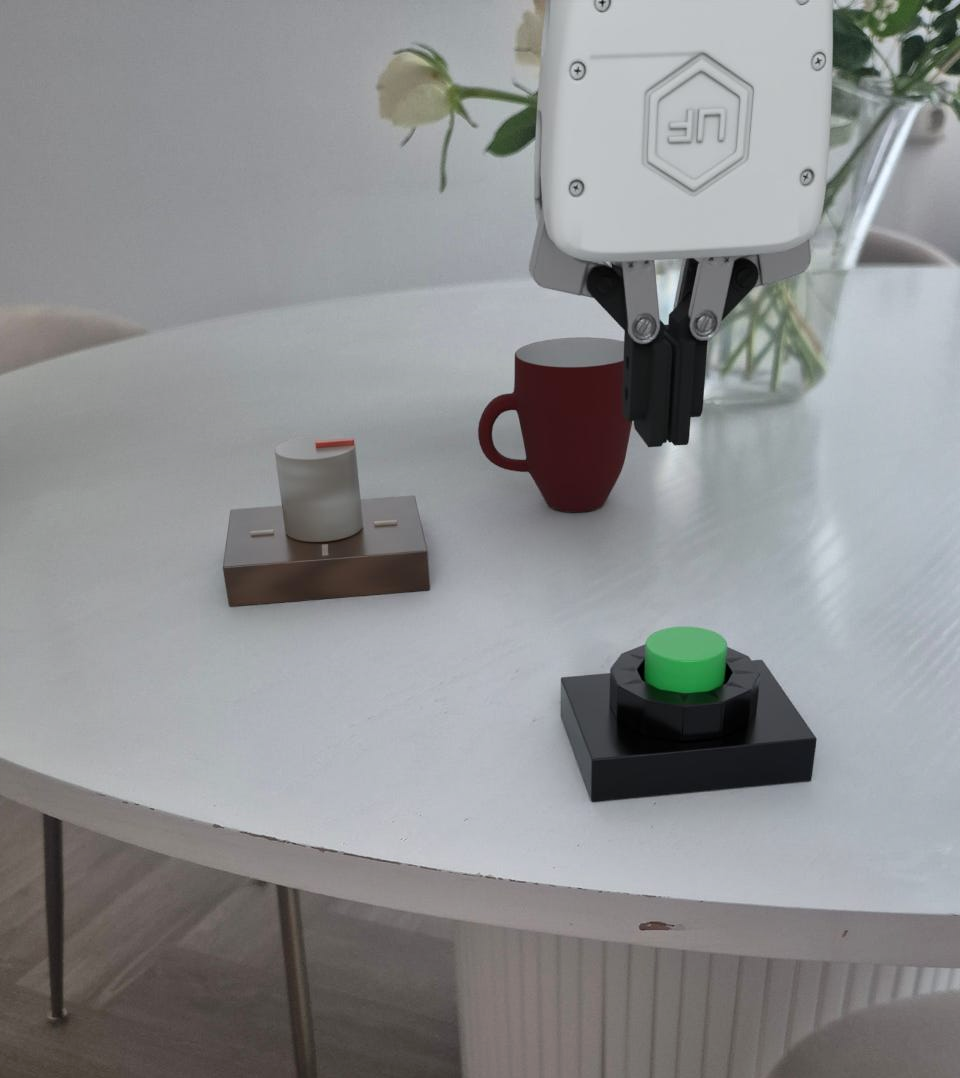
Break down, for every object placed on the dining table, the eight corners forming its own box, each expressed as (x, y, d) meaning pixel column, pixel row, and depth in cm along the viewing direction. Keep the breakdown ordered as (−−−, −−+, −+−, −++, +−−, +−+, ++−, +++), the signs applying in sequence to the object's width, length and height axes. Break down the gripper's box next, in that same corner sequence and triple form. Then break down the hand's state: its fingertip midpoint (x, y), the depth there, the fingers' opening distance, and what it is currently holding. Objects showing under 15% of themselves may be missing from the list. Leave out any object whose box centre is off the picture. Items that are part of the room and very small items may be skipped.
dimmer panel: (228, 607, 75) (221, 564, 73) (235, 546, 83) (229, 506, 81) (430, 590, 76) (427, 547, 74) (417, 531, 84) (414, 492, 82)
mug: (493, 532, 83) (487, 375, 77) (473, 493, 90) (467, 345, 84) (648, 517, 84) (654, 361, 79) (618, 479, 91) (621, 333, 85)
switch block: (591, 802, 55) (592, 723, 53) (560, 716, 62) (560, 642, 60) (811, 781, 56) (822, 701, 54) (758, 698, 63) (765, 624, 60)
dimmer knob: (284, 545, 76) (273, 456, 73) (285, 517, 80) (274, 432, 76) (364, 538, 76) (356, 450, 73) (361, 511, 80) (353, 427, 77)
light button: (654, 700, 55) (655, 664, 54) (636, 664, 58) (637, 629, 57) (734, 692, 56) (737, 656, 55) (712, 657, 59) (714, 622, 58)
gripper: (477, -130, 38) (491, 478, 48) (958, -143, 39) (869, 453, 49) (453, -114, 44) (469, 421, 54) (869, -126, 45) (807, 401, 55)
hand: (660, 435), depth 52 cm, fingers closed
